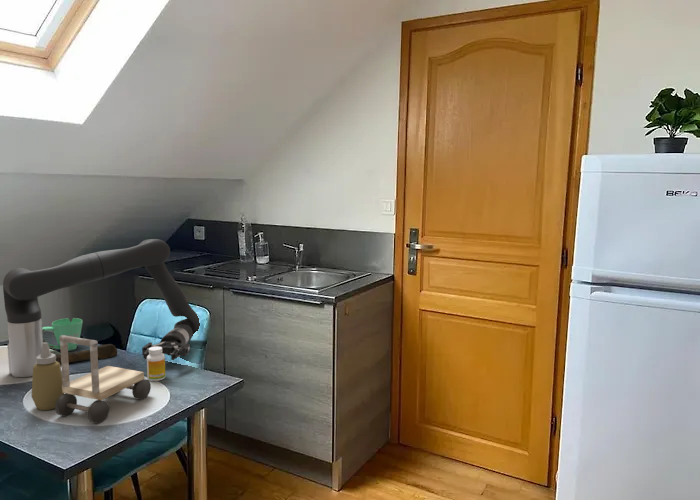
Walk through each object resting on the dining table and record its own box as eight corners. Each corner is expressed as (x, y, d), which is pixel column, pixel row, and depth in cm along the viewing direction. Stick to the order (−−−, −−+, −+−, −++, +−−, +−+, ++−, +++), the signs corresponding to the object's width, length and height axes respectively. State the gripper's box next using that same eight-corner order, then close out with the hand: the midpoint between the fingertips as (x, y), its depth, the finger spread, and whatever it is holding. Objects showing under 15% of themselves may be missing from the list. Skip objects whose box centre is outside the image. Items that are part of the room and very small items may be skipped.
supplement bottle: (168, 378, 175) (167, 348, 174) (151, 382, 171) (150, 352, 170) (161, 373, 179) (160, 344, 178) (144, 377, 175) (143, 347, 174)
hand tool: (56, 367, 183) (55, 354, 183) (55, 363, 187) (54, 350, 186) (118, 358, 193) (117, 345, 192) (116, 355, 197) (116, 342, 196)
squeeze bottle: (42, 415, 148) (38, 349, 146) (26, 408, 153) (21, 344, 150) (71, 404, 155) (68, 341, 152) (55, 397, 159) (51, 336, 157)
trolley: (55, 418, 147) (49, 337, 144) (116, 388, 167) (112, 317, 164) (93, 427, 142) (89, 344, 139) (151, 395, 162) (148, 322, 159)
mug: (77, 342, 208) (76, 316, 206) (88, 348, 201) (86, 321, 200) (34, 351, 197) (32, 324, 196) (44, 358, 191) (42, 330, 189)
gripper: (154, 330, 193) (135, 344, 177) (195, 331, 192) (181, 345, 176) (154, 351, 194) (136, 367, 178) (196, 352, 194) (181, 368, 178)
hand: (158, 356), depth 177 cm, fingers open, 8 cm apart
